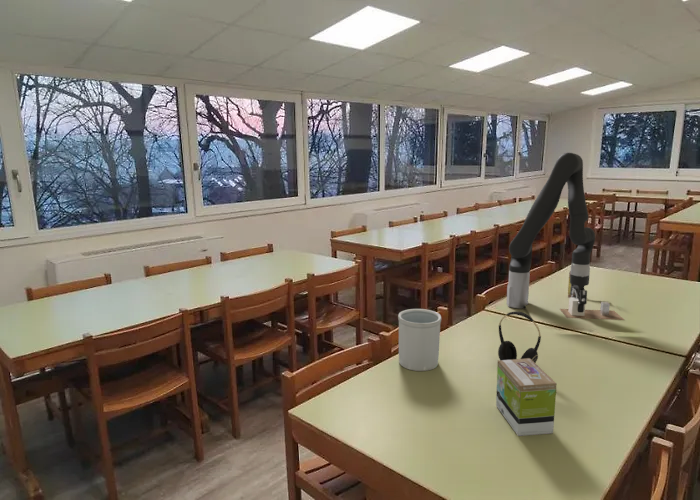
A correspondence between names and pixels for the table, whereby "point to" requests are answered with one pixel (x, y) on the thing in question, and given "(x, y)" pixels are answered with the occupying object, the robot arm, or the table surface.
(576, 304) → the white rectangular block
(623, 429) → the table surface
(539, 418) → the tea box
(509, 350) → the headphones
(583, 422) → the table surface
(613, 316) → the board
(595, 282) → the table surface
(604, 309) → the post
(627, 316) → the table surface
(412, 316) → the utensil holder
